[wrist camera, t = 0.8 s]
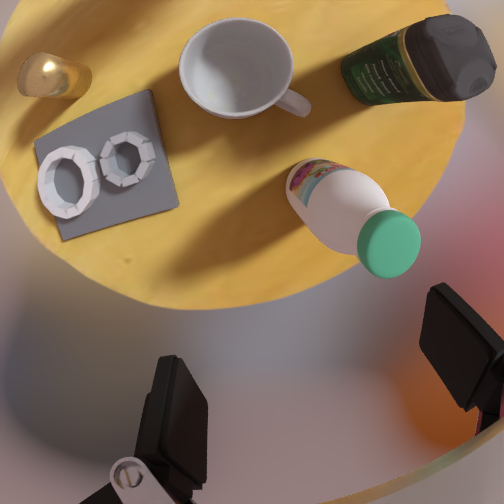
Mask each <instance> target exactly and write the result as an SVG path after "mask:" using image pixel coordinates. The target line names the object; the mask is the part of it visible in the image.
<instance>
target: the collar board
mask: <svg viewBox="0 0 504 504" xmlns="http://www.w3.org/2000/svg"><path fill="white" fill-rule="evenodd" d="M34 145H35V149H36V154H37V158H38V162H39V166H40V169H39V173H38V182H37V186H38V187H37V188H38V191H39V194H40V198H41V201H42V202H43V204H44V206H45V207H46V208H47V209H48V210H49V211H50V212H51V213H52V214H53V215H54V216H55V219H56V222H57V225H58V227H59V230H60V233H61V235H62V238H63V241H64V240H67V239H70V238H73V237H76V236H80V235H83V234H86V233H89V232H92V231H95V230H98V229H102V228H105V227H108V226H112V225H115V224H118V223H122V222H125V221H129V220H132V219H136V218H139V217H143V216H146V215H150V214H154V213H157V212H161V211H165V210H169V209H172V208H176V207H178V206H179V200H178V196H177V193H176V189H175V186H174V182H173V178H172V174H171V170H170V167H169V163H168V159H167V155H166V151H165V147H164V143H163V139H162V135H161V130H160V126H159V122H158V118H157V113H156V109H155V104H154V100H153V95H152V91H151V90H149V89H147V90H144V91H141V92H138V93H135V94H133V95H130V96H127V97H125V98H122V99H120V100H117V101H115V102H112V103H110V104H107V105H105V106H103V107H100V108H98V109H96V110H94V111H91V112H89V113H87V114H85V115H83V116H81V117H79V118H77V119H75V120H73V121H71V122H69V123H67V124H65V125H63V126H61V127H59V128H57V129H55V130H53V131H52V132H50V133H48V134H46V135H44V136H43V137H41V138H39V139H38V140H36V141H34Z"/></svg>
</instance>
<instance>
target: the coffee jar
mask: <svg viewBox="0 0 504 504" xmlns="http://www.w3.org/2000/svg"><path fill="white" fill-rule="evenodd" d="M496 68H497V65H496V63H495V60H494V57H493V54H492V52H491V49H490V47H489V45H488V43H487V40H486V38H485V36H484V35H483V33H482V31H481V29H480V28H478V27H476V26H475V25H474V24H473V23H472V22H470V21H469V20H467V19H465V18H463V17H461V16H458V15H450V14H445V15H439V16H434V17H428V18H426V19H425V20H422V21H420V22H417V23H414V24H412V25H410V26H407V27H405V28H403V29H400V30H398V31H396V32H393V33H391V34H389V35H387V36H385V37H383V38H381V39H379V40H377V41H375V42H373V43H371V44H368V45H366V46H364V47H362V48H360V49H358V50H356V51H354V52H352V53H351V54H349V55H347V56H346V57H345V58H344V60H343V62H342V65H341V70H342V74H343V77H344V79H345V81H346V83H347V85H348V87H349V89H350V90H351V92H352V93H353V95H354V96H355V97H356V98H357V99H358V100H359V101H360V102H362V103H363V104H366V105H382V104H391V103H401V102H417V101H438V102H450V101H463V100H467V99H470V98H472V97H475V96H477V95H479V94H481V93H482V92H484V91H485V90H486V89H488V88H489V87H490V86H491V84H492V82H493V80H494V77H495V71H496Z"/></svg>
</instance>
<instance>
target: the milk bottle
mask: <svg viewBox="0 0 504 504" xmlns="http://www.w3.org/2000/svg"><path fill="white" fill-rule="evenodd" d="M286 195H287V199H288V201H289V203H290V204H291V206H292V208H293V209H294V210H295V211H296V213H297V214H298V215H299V217H300V218H301V219H302V220H303V222H304V223H305V224H306V226H307V227H308V228H309V229H310V231H311V232H312V233H313V234H314V235H315V236H316V237H317V238H318V239H319V241H321V242H322V243H323V244H324V245H326V246H327V247H328V248H330V249H332V250H334V251H336V252H339V253H343V254H348V255H356V257H357V258H358V260H359V261H360V262H361V263H362V264H363V265H364V266H365V268H366V269H367V270H368V271H369V272H370V273H372V274H373V275H375V276H377V277H379V278H384V279H388V278H394V277H397V276H399V275H401V274H402V273H404V272H405V271H406V270H407V269H408V268H409V267H410V266H411V265H412V264H413V262H414V261H415V259H416V257H417V255H418V252H419V249H420V243H421V239H420V232H419V229H418V227H417V226H416V224H415V223H414V221H413V220H412V219H411V218H409V217H408V216H406V215H405V214H403V213H401V212H399V211H398V210H396V209H394V208H391V207H390V205H389V202H388V200H387V197H386V195H385V194H384V192H383V190H382V189H381V188H380V187H379V186H378V184H377V183H376V182H375V181H373V180H372V179H371V178H369V177H368V176H366V175H365V174H363V173H361V172H358V171H356V170H354V169H351V168H349V167H346V166H344V165H341V164H338V163H335V162H332V161H329V160H326V159H322V158H309V159H306V160H303V161H301V162H300V163H298V164H297V165H296V166H295V167H294V168H293V169H292V170H291V172H290V173H289V175H288V178H287V181H286Z"/></svg>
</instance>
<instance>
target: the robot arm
mask: <svg viewBox="0 0 504 504" xmlns="http://www.w3.org/2000/svg"><path fill="white" fill-rule="evenodd" d="M419 345H420V348H421V350H422V352H423V353H424V355H425V356H426V357H427V359H428V360H429V362H430V363H431V365H432V366H433V368H434V369H435V371H436V372H437V373H438V375H439V376H440V378H441V380H442V381H443V383H444V384H445V386H446V387H447V389H448V390H449V392H450V393H451V395H452V397H453V398H454V400H455V401H456V403H457V404H458V406H459V407H460V408H463V409H464V410H465V412H467V411H469V410H470V409H472V408H474V407H475V406H477V407H478V409H479V414H478V421H477V426H476V431H475V436H474V437H473V438H471V439H470V440H468V441H467V442H465V443H464V444H462V445H460V446H459V447H457V448H455V449H454V450H452V451H450V452H449V453H447V454H445V455H444V456H441V457H440V458H438V459H436V460H434V461H432V462H430V463H428V464H426V465H424V466H422V467H420V468H418V469H416V470H414V471H412V472H409V473H407V474H405V475H403V476H401V477H398V478H396V479H393V480H391V481H388V482H386V483H384V484H381V485H378V486H376V487H373V488H370V489H367V490H364V491H361V492H358V493H355V494H352V495H349V496H345V497H342V498H338V499H335V500H331V501H327V502H323V503H319V504H504V341H503V340H502V339H501V337H500V336H499V335H498V334H497V333H496V332H495V331H494V330H493V329H492V328H491V327H490V326H489V325H488V324H487V323H486V321H485V320H483V318H482V317H481V316H480V315H479V314H478V313H477V312H476V311H475V310H474V309H473V308H472V307H471V306H469V305H468V304H467V303H466V302H465V301H464V300H463V299H462V298H461V297H460V296H459V295H458V294H457V293H456V292H455V291H454V290H453V289H452V288H450V287H449V286H448V285H447V284H446V283H440V284H437V285H435V286H433V287H431V288H430V291H429V292H428V294H427V299H426V306H425V312H424V318H423V324H422V330H421V335H420V340H419ZM207 425H208V403H207V400H206V398H205V397H204V395H203V393H202V392H201V390H200V389H199V387H198V385H197V384H196V382H195V380H194V379H193V377H192V375H191V374H190V372H189V370H188V368H187V367H186V365H185V363H184V361H183V360H182V359H181V358H177V356H176V355H170V356H163V357H160V358H159V359H158V363H157V368H156V372H155V376H154V380H153V385H152V389H151V392H150V393H148V394H147V397H146V400H145V405H144V408H143V413H142V418H141V423H140V428H139V432H138V438H137V443H136V448H135V454H134V457H126V458H122V459H120V460H118V461H117V462H116V463H115V464H114V465H113V467H112V469H111V472H110V481H111V482H110V483H108V484H107V485H105V486H104V487H103V488H101V489H100V490H98V491H97V492H95V493H94V494H92V495H91V496H89V497H88V498H87V499H85V500H84V501H82V502H81V503H80V504H197V503H196V502H195V501H194V500H193V499H192V495H193V491H192V490H202V483H206V479H207V428H208V427H207Z"/></svg>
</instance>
